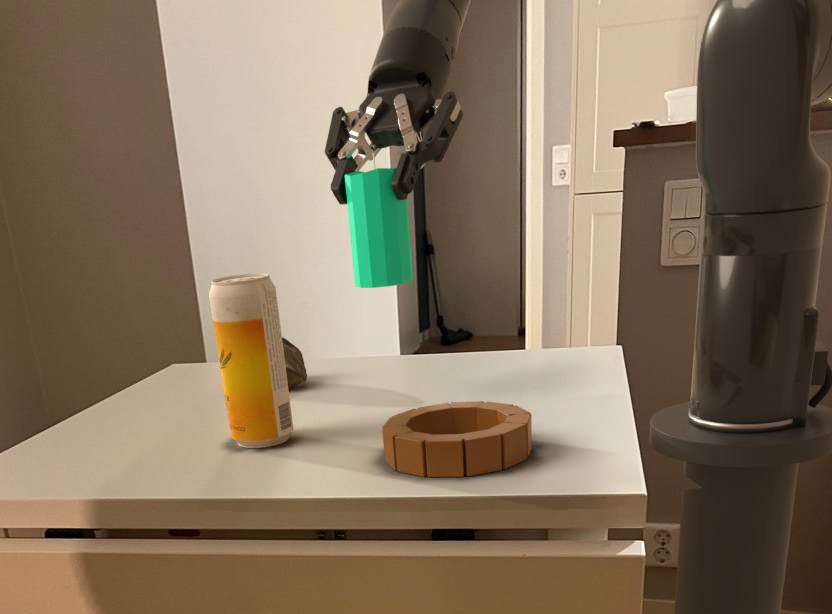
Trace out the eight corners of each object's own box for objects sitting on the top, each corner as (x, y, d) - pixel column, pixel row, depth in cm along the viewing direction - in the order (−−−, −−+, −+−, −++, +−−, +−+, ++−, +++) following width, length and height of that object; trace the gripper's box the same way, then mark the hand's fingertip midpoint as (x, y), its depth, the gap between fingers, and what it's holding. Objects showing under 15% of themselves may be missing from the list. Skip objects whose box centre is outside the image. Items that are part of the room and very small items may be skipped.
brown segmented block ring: (536, 432, 86) (536, 399, 85) (522, 476, 76) (521, 439, 74) (403, 435, 90) (400, 403, 88) (371, 478, 79) (368, 442, 78)
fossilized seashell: (220, 365, 116) (245, 393, 108) (242, 314, 114) (269, 339, 106) (272, 387, 120) (300, 415, 113) (295, 338, 118) (325, 364, 110)
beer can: (249, 431, 96) (226, 274, 90) (304, 432, 94) (284, 271, 87) (221, 449, 91) (194, 284, 85) (278, 450, 89) (255, 281, 82)
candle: (417, 282, 95) (408, 148, 90) (357, 290, 95) (345, 155, 89) (409, 276, 100) (400, 149, 95) (352, 283, 100) (340, 156, 95)
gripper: (338, 36, 96) (288, 174, 93) (469, 12, 89) (420, 161, 86) (369, 95, 103) (323, 227, 99) (493, 77, 96) (448, 218, 92)
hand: (368, 195), depth 93 cm, fingers closed on candle, 6 cm apart
